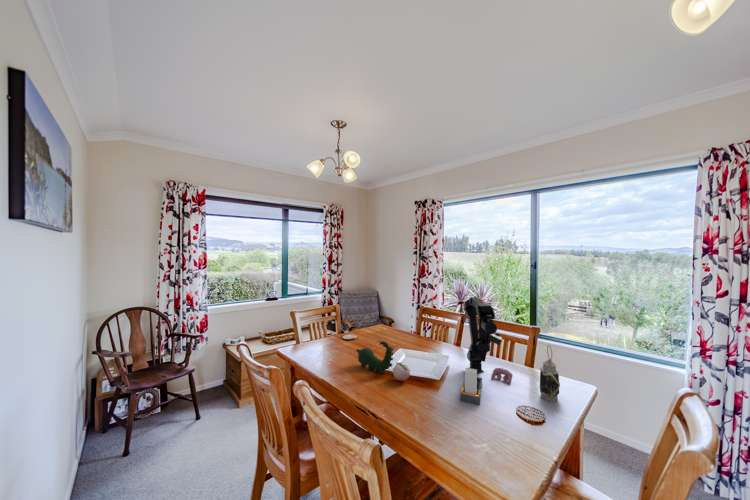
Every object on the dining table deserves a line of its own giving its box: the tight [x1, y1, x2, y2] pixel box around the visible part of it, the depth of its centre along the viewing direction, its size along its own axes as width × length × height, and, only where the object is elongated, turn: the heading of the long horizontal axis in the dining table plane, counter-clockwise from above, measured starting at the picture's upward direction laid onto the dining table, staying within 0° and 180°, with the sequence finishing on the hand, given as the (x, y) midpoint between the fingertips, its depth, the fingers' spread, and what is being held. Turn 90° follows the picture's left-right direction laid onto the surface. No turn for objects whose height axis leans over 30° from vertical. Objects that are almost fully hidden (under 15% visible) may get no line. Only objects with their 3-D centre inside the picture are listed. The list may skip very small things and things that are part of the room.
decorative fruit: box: [392, 361, 411, 382], centre depth 148 cm, size 9×8×10 cm
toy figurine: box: [355, 340, 394, 374], centre depth 163 cm, size 9×19×25 cm
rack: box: [459, 376, 483, 406], centre depth 137 cm, size 20×8×4 cm, turn 157°
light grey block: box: [464, 367, 478, 395], centre depth 131 cm, size 4×5×12 cm
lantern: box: [539, 344, 561, 403], centre depth 132 cm, size 9×8×25 cm
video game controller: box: [491, 367, 514, 385], centre depth 150 cm, size 10×5×7 cm, turn 48°
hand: (484, 358), depth 146 cm, fingers open, 9 cm apart
